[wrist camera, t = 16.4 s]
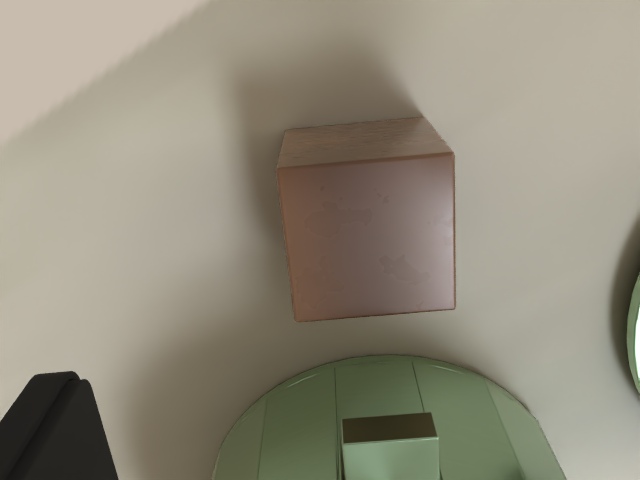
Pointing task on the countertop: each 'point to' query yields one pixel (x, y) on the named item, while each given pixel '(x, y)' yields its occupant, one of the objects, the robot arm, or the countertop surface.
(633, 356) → the pot lid
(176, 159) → the countertop surface
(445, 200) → the block
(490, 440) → the pot
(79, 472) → the robot arm
